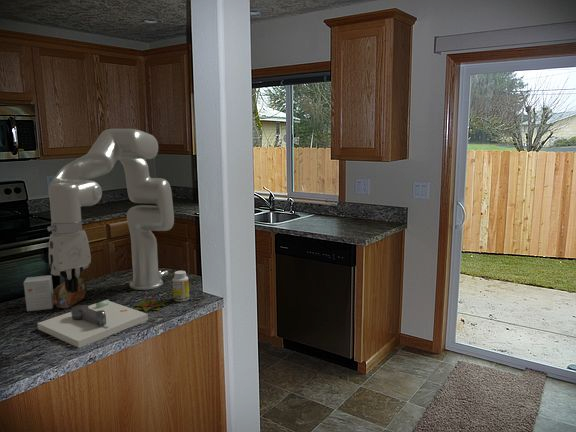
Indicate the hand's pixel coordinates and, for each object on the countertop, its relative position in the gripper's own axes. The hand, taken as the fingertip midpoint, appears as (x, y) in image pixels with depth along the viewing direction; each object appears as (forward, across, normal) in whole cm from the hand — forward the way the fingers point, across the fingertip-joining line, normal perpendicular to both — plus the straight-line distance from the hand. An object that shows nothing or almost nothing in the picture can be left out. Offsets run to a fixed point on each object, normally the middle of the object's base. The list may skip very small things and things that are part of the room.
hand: (72, 291), depth 133 cm
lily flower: (+16, +31, +5) cm, 35 cm away
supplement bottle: (+15, +42, +1) cm, 44 cm away
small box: (+15, +9, +35) cm, 39 cm away
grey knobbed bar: (+13, +9, +6) cm, 17 cm away
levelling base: (+15, +11, +7) cm, 20 cm away
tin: (+15, +17, +30) cm, 38 cm away
